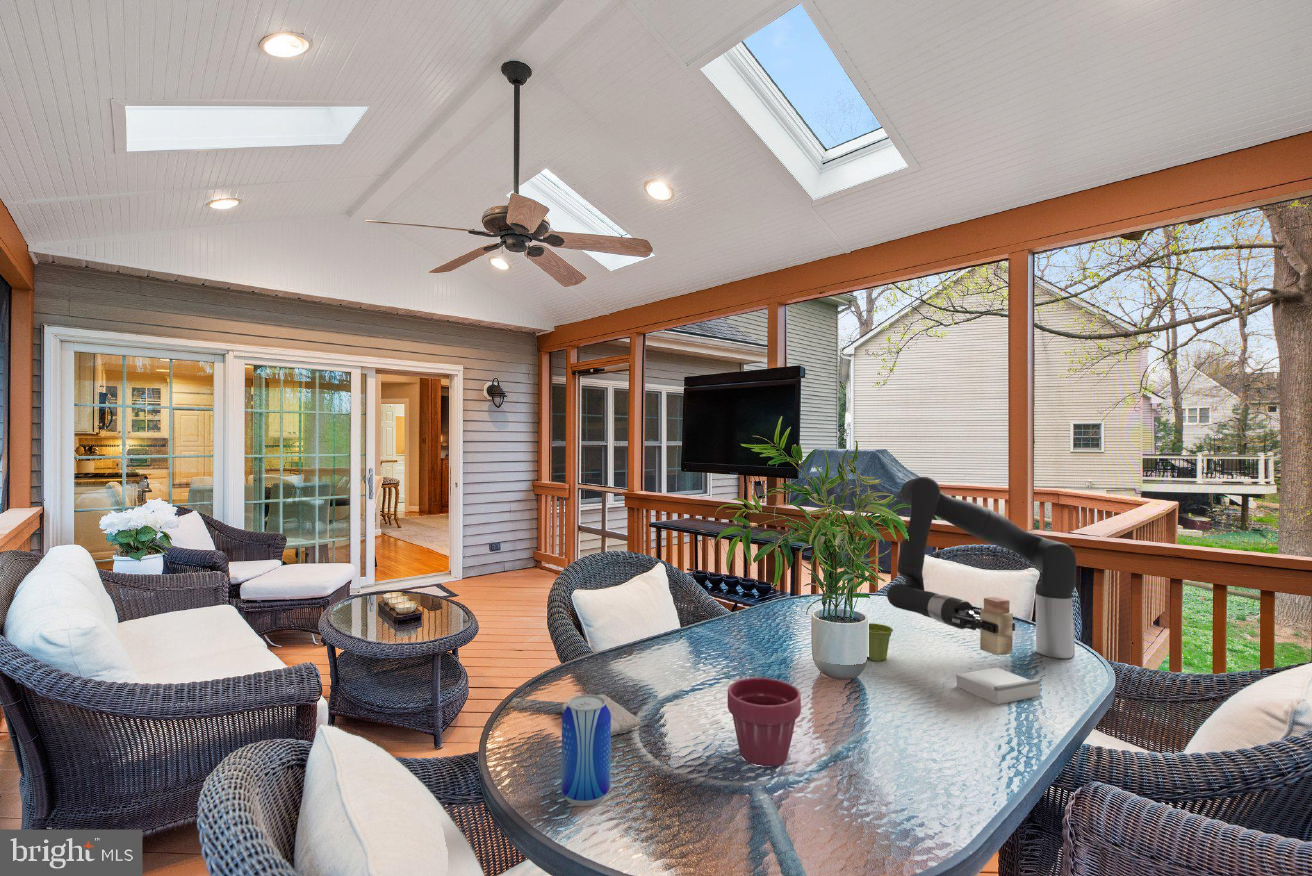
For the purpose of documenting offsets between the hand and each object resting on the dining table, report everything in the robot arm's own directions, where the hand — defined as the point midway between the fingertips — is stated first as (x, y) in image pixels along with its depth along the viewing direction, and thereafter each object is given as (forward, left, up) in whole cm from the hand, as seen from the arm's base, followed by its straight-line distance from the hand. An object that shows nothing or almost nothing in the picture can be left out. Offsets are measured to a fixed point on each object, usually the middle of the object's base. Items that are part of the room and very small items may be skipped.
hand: (1005, 628), depth 154 cm
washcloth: (+97, -22, -17) cm, 101 cm away
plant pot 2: (+11, -34, -17) cm, 39 cm away
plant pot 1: (+72, +5, -16) cm, 74 cm away
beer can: (+108, +6, -16) cm, 109 cm away
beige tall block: (0, -3, -6) cm, 7 cm away
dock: (0, -3, -16) cm, 16 cm away
